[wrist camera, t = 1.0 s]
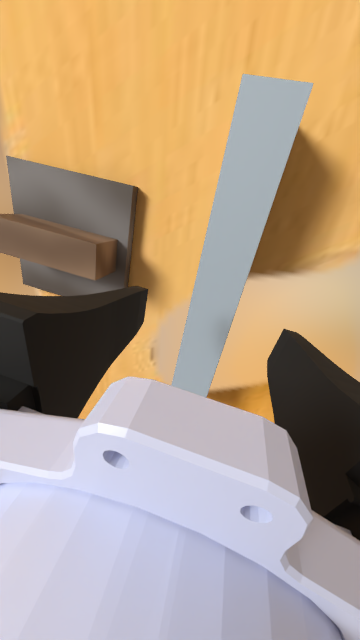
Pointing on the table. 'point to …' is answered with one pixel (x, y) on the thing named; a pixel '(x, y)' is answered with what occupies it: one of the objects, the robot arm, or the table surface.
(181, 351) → the batten
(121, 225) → the fulcrum
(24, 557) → the robot arm
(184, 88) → the table surface
